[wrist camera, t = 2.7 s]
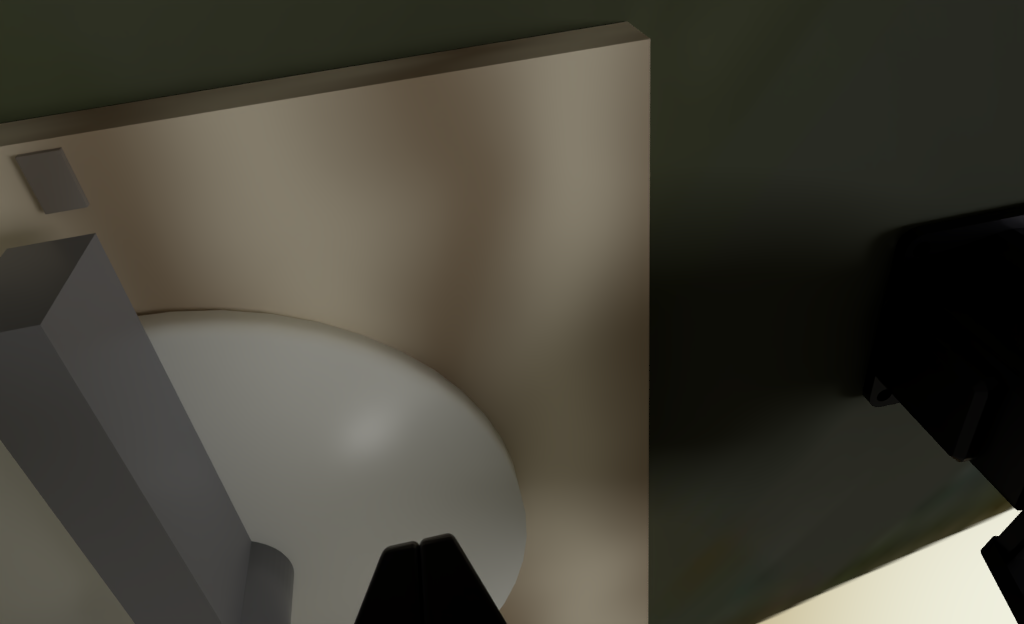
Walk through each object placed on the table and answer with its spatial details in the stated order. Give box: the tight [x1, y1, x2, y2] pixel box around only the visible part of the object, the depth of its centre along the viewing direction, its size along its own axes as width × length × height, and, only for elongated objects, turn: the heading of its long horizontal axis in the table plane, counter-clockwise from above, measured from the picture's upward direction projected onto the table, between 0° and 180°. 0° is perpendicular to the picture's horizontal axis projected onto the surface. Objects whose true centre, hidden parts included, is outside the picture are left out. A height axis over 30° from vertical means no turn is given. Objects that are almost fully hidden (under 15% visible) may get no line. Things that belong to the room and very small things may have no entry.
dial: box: [0, 233, 527, 624], centre depth 18 cm, size 18×16×4 cm
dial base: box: [0, 22, 650, 624], centre depth 21 cm, size 24×24×2 cm
